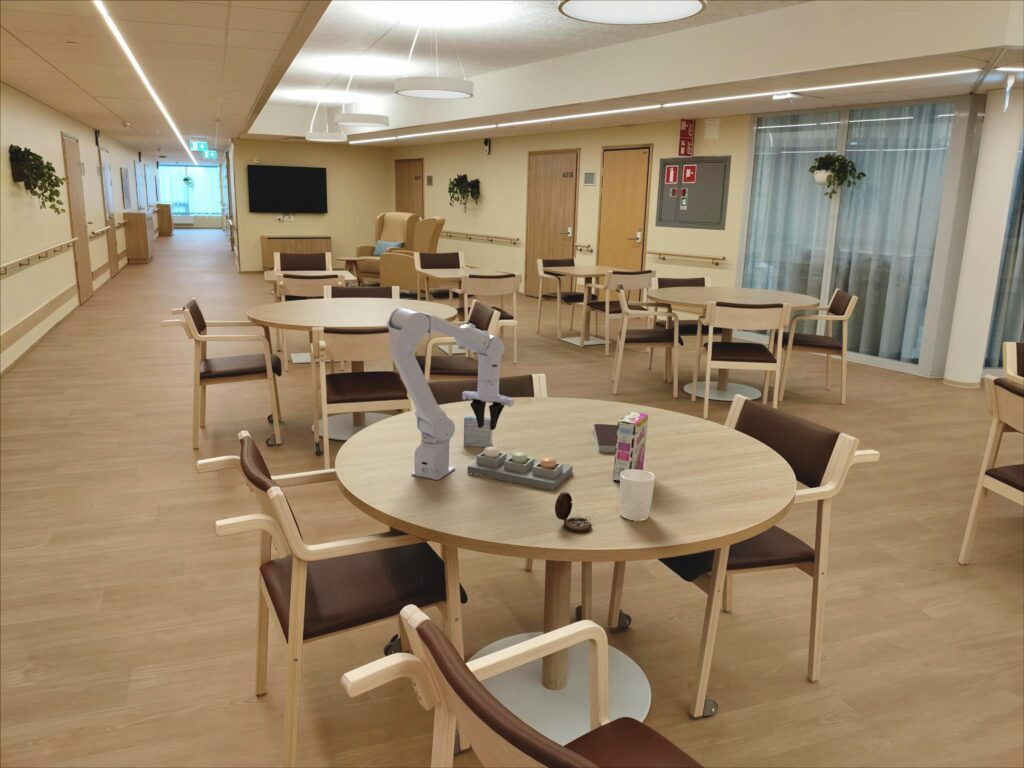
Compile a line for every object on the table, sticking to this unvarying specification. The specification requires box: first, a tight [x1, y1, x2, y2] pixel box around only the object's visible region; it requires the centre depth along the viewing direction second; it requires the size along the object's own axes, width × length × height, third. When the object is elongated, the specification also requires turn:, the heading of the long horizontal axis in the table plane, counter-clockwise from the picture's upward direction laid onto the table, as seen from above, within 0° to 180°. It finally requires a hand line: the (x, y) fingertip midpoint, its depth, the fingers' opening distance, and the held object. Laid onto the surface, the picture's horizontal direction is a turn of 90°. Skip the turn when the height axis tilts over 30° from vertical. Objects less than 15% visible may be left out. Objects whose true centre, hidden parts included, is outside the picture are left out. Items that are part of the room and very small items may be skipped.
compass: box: [554, 491, 593, 534], centre depth 166 cm, size 8×8×7 cm
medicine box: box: [463, 413, 493, 448], centre depth 217 cm, size 8×4×9 cm, turn 84°
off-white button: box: [483, 446, 500, 459], centre depth 198 cm, size 4×4×2 cm
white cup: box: [619, 469, 656, 520], centre depth 172 cm, size 8×8×10 cm
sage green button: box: [511, 451, 528, 464], centre depth 195 cm, size 4×4×2 cm
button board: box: [467, 451, 574, 491], centre depth 197 cm, size 14×24×4 cm, turn 66°
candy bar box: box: [612, 411, 649, 481], centre depth 196 cm, size 11×5×16 cm, turn 152°
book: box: [592, 423, 618, 453], centre depth 225 cm, size 12×19×3 cm, turn 178°
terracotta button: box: [539, 456, 557, 470], centre depth 192 cm, size 4×4×2 cm
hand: (486, 428), depth 203 cm, fingers open, 3 cm apart
